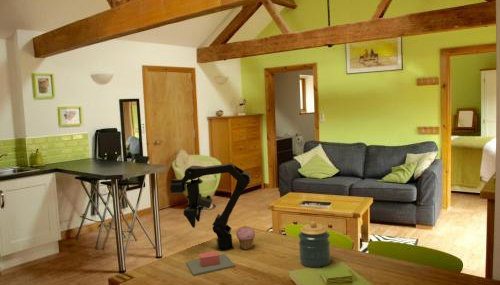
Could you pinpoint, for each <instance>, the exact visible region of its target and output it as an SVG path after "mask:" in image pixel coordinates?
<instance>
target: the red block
mask: <svg viewBox="0 0 500 285" xmlns="http://www.w3.org/2000/svg"><path fill="white" fill-rule="evenodd" d="M219 255H220V254H219V252H218V250H216V251H209V252H202V253H199V259H200V263H201V267H205V266H212V265H218V264H220V258H219Z"/></svg>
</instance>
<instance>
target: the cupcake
mask: <svg viewBox="0 0 500 285" xmlns="http://www.w3.org/2000/svg"><path fill="white" fill-rule="evenodd" d="M255 236H256V234H255V230H254V229H253V227H251V226H243V227H239V228H238V230H237V231H236V238H237V239H238V240H239V245H240V248H242V249H243V250H248V249H251V248H252V247H253V244H254V239H255Z"/></svg>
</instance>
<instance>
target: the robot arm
mask: <svg viewBox="0 0 500 285" xmlns="http://www.w3.org/2000/svg"><path fill="white" fill-rule="evenodd" d="M227 173H228V174H229V175H230V176H232V178H234V180H236V183H235V186H234V187H235V188H234V190H233V192H232V194H231V196H230V198H229V200H228V202H227V204H226V206H225V208H224V210H223V212H222V213H221V214H219V213H218V214H217V215H216V217H215V219H214V221H213V222H212V224H211V225H212V231H213V232H214V234H216V237H217V238H216V247H217V249H219V250H220V251H222V252H223V251H227V250H228V251H229V250H231V249H235V248H234V245H233V237H232V236H233V235H232V234H231V232H232V227H231V226H229V224H228V223H229V220H230V215H231V214H232V212H233V210H234V208H235V206H236V205H237V202H238V200H239V198H240V197H241V195H242V193H243V192H244V191H245V189H246V188H247V187H248V186H249V184H250V182H251V180H252V176H251V174H250V172H248V171H244V170H243V169H242V168H239V167H238V166H237V165H235V164H234V163H232V162H229V163H222V164H216V165H208V166H202V165H190V166H189V167H187V168H186V169H185V171H184V173H183V174H184V175H183V177H181V179H178V178H177V179H175V178H174V179H171V183H170V188H169V189H170V193H171V194H176V195H177V194H185V192H186V194H187V195H186V197H185V198H186V199H187V205H186V206H187V207H186V208H185V209H184V210H183V216H184V217H186V219H187V221H188V222H189V224H190V225H191V227H192V228H196V222H200V220H201V214H202V209H203V208H206V209H210V208H211V206H212V204H213V199H212V196H211V195H209V194H208V195H207V196H203V195H202V193H201V192H200V184H202V183H203V182H204V180H202V179H201V177H204V176H210V175H218V174H219V175H220V174H227Z"/></svg>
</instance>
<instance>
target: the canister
mask: <svg viewBox="0 0 500 285" xmlns="http://www.w3.org/2000/svg"><path fill="white" fill-rule="evenodd" d="M299 231H300V232H299V233H298V235H297V236H298V237H299V241H298V245H299V262H300V264H301V265H303V266H305V267H309V268H320V267H319V266H323V267H326V266H328V265H329V264H330V263H331V258H332V256H331V248H330V247H331V245H330V244H331V242H330V240H329V239H330V233H329V232H328V228H327V227H326V226H324V225H323V224H320V223H317V222H316V221H315V220H314V221H313V220H312V221H311V222H310V223H308V224H304V226H302V227H301V228H300V230H299ZM325 265H326V266H325Z"/></svg>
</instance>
